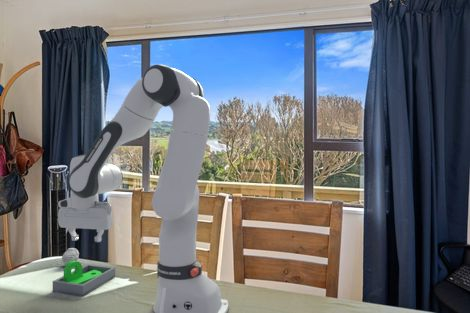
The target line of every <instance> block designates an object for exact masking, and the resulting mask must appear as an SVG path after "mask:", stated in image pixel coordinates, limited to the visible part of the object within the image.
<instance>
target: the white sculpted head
mask: <svg viewBox="0 0 470 313" xmlns="http://www.w3.org/2000/svg"><path fill="white" fill-rule="evenodd" d="M79 256H80V252H79V250H78V249H77V248H75V247H70V248H67V250H66V251H65V252H64V253H63V255H62V256H61V262H63V265H64V266H66V264H67V263H68V262H70V261H77V262H78V259H79V258H80V257H79Z"/></svg>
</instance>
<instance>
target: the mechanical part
mask: <svg viewBox="0 0 470 313" xmlns="http://www.w3.org/2000/svg"><path fill="white" fill-rule="evenodd" d="M82 267H83V266H82V263H81V262H80V261H78V260H77V261H70V262H68V263H67V264H66V265H64V267H63V276H64V282H71V283H78V284H84V283H86V282H87V281H89V280H91V279H93V278H95V277H96V276H98V275H100V274H102V272H100V271H97V270H92V271H90V272H87V273H84V274H82ZM73 268H74V270H73V271H74V272H73V271H72V269H73ZM71 272H73V273H71Z"/></svg>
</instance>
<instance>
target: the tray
mask: <svg viewBox="0 0 470 313" xmlns="http://www.w3.org/2000/svg"><path fill="white" fill-rule="evenodd" d="M92 270H97V271H100V272H102V274H100V275H98V276H96V277H95V278H93V279H91V280H89V281H87V282H86V283H84V284H78V283H71V282H64V275H63V276H61V277H59V278H56V279H55V280H52V293H58V294H65V295H70V296H71V295H72V296H77V297H85V296H87V295H88V294H90V293H91V292H93V291H95V290H96V289H98V288H99V287H101V286H103V285H105V284H106V283H108V282H109V281H111V280H113V279H115V278H116V267H113V266H106V265H97V264H91V263H87V264H85V265H83V266H82V274H84V273H87V272H90V271H92ZM73 272H74V270H73V271H71V273H73Z"/></svg>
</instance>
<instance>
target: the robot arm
mask: <svg viewBox="0 0 470 313" xmlns="http://www.w3.org/2000/svg"><path fill="white" fill-rule="evenodd" d="M163 107H165V108H166V107H169V108H170V110H171V111H172V117H173V118H172V121H171V127H170V132H169V138H168V144H167V149H166V154H165V157H164V162H163V163H162V166H161V170H160V174H159V176H158V179H157V183H156V187H155V190H154V192H153V195H152V198H151V206H152V210H153V211H154V213H155V214H156V215H157V216H158V217H160V218H161V225H160V231H159V235H158V261H157V264H156V265H157V267H156V270H157V271H156V272H157V273H156V276H157V279H158V280H157V289H156V294H155V295H156V296H155V300H154V304H153V308H152V311H153V313H228V310H229V308H230V307H229V301H228V300H227V299H223V298H222V294H221V289H220V287H219V285H218V284H217V283H216V282H214V281H213V280H211V279H210V277H208V276H207V275H206V274H204V272H203V267H204V262H205V261H202V262H201V263H200V261H198V258H197V229H198V228H197V227H198V217H199V206H200V188H199V186H198V181H199V176H200V172H201V170H202V169H201V168H202V166H203V163H204V159H205V153H206V147H207V143H208V138H209V137H208V136H209V130H210V122H211V107H210V104H209V102H208V101H207V100H206V99H205V98H204V89H203V86H202V84H201V83H200V82H199V81H198V80H196V78H194V77H191V76H190V75H187V73H184V72H183V71H181V70H179V69H176V68H173V67H171V66H169V65H166V64H153V65H151V66H149V67H148V68H147V69H146V70H145V71H144V73H143V76H142V78H140V79H138V80H137V81H136V82H135V83H134V85H133V86H132V87H131V88H130V90H129V91H128V93H127V95H126V97H125V98H124V101H123V102H122V104H121V106H120V108H119V110H118V111H117V113H115V115H114V117H112V119H111V120H110V121H109V122H108V123H107V124H106V125H105V126H104V127H103V128H102V129H101V131H100V133H99V134H98V135H97V137H96V138H95V140H94V141H93V143H92V144H91V146H90V147H89V149H88V150H87V153H85V154H79V155H75V156H73V157H72V158H71V160H70V164H69V177H68V187H69V188H70V197H67V198H65V199H62V200H59V201H58V202H57V205H58V208H59V209H58V213H57V221H58V225H59V227H60V228H65V229H66V228H67V229H68V230H67V231H68V232H69V234H70V237H71V241H73V242H74V241H78V240H79V236H80V235H79V234H77V232H76V230H77V229H85V230H96V233H97V235H95V236H94V238H93V239H94V242H95V243H101V242H102V236H103V234H104V232H105V231H107V230H109V229H111V228H113V226H114V216H113V212H112V211H113V210H112V205H111V204H110V203H109V202H108V201H99V195H101V194H106V193H110V192H113V191H116V190H118V189H119V188H120V187H121V185H122V183H123V172H122V170H121V169H120V168H119V167H118V165H116V164H113V163H109V162H108V160H109V159H110V157H111V156H112V154H113V153H114V152H115V151H116V149H117V148H118V147H120V146H123V144H125V143H128V142H130V141H133V140H137V139H139V138H140V139H141V138H142V137H144V136H145V135H146V134H147V133H148V131H149V130H150V129H151V127H152V125H153V124H154V122H155V119H156V118H157V116H158V115H159V114H158V113H159V111H160V110H161V109H162V108H163Z"/></svg>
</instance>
